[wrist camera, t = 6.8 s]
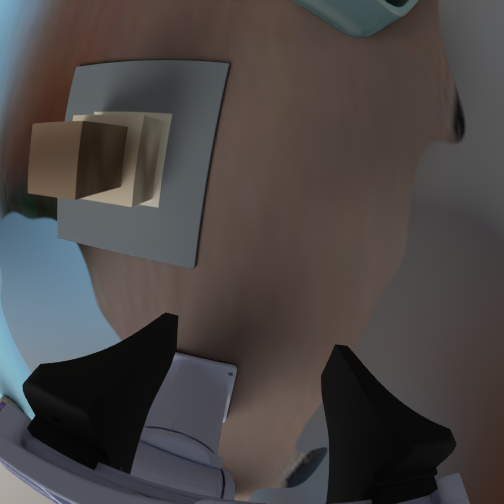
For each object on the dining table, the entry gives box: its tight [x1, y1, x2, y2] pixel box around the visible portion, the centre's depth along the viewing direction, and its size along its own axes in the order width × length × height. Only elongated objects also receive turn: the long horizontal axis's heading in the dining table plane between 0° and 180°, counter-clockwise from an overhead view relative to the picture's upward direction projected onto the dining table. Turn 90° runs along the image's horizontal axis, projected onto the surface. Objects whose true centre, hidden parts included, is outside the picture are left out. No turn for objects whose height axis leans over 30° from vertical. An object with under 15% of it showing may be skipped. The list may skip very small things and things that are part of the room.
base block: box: [73, 115, 163, 207], centre depth 18 cm, size 6×6×4 cm
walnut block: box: [28, 121, 128, 200], centre depth 14 cm, size 4×4×5 cm
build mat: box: [57, 60, 230, 269], centre depth 20 cm, size 16×14×1 cm
